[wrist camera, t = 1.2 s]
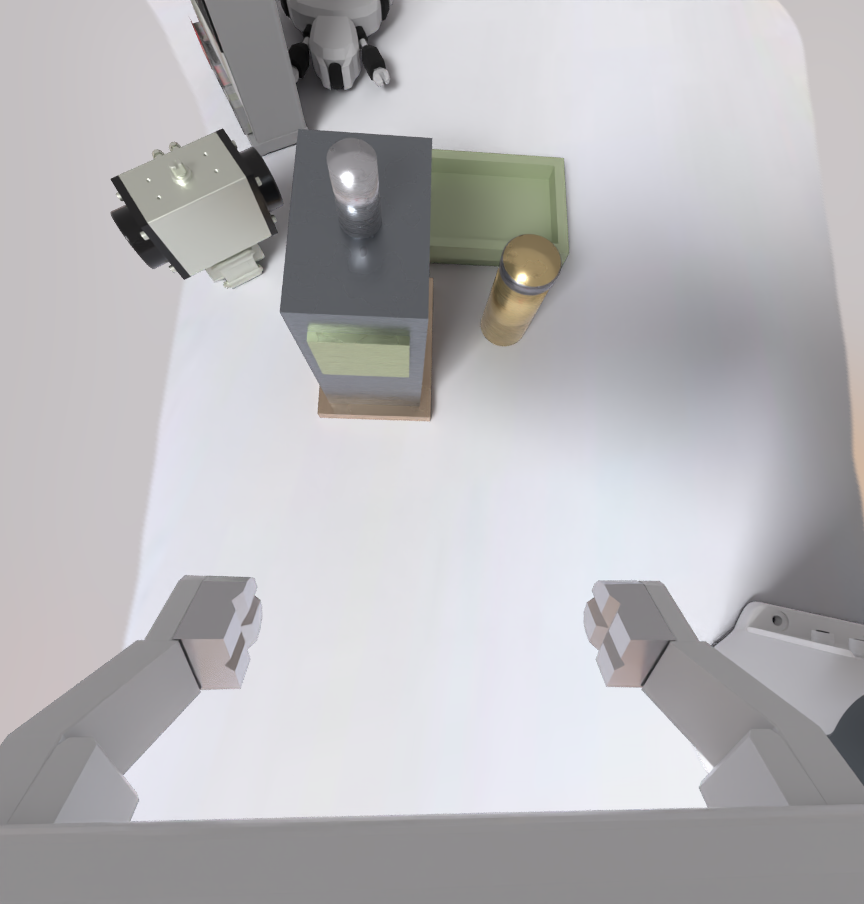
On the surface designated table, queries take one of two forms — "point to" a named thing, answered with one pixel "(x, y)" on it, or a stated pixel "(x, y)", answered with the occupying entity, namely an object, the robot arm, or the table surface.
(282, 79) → the upright grey panel
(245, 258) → the pneumatic valve
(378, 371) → the mounted unit
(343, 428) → the table surface
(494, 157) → the olive tray
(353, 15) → the robot toy
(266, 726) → the table surface
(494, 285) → the cartridge
